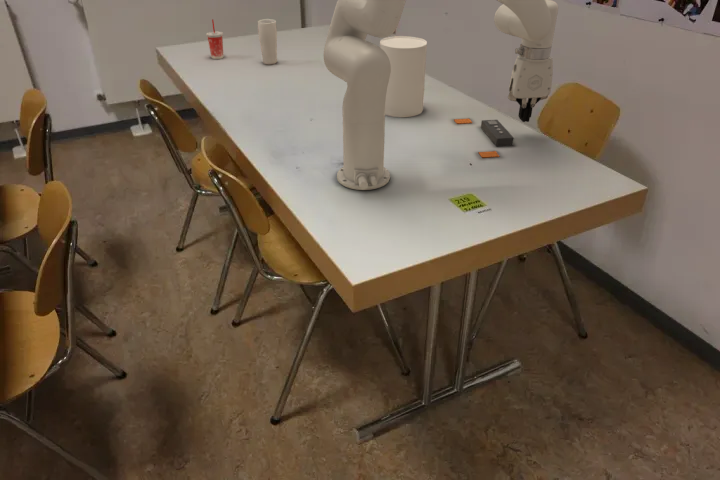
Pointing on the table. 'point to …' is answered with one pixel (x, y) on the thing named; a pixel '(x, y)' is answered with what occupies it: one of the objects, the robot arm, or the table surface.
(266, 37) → the drinking glass
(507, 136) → the remote
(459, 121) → the tiles
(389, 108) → the canister
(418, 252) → the table surface
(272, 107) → the table surface
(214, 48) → the beverage cup
